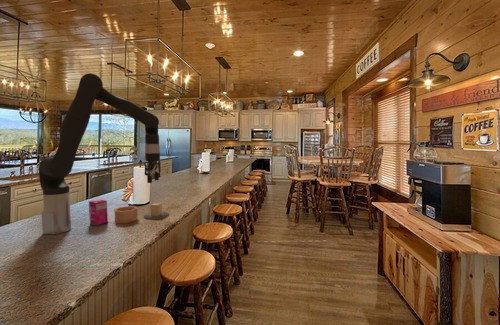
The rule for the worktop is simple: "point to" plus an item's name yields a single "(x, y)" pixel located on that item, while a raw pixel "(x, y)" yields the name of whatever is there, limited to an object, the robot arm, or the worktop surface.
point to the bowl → (125, 214)
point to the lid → (156, 212)
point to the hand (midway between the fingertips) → (153, 181)
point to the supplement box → (98, 212)
